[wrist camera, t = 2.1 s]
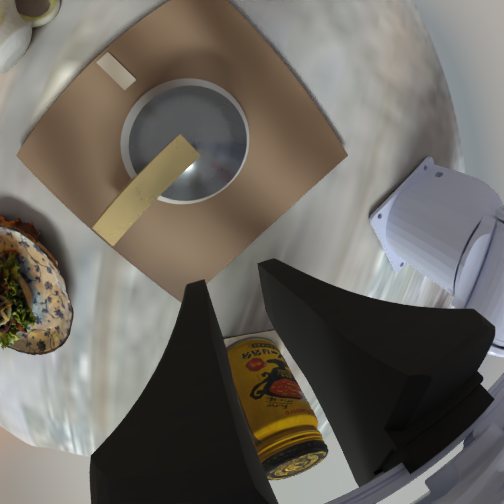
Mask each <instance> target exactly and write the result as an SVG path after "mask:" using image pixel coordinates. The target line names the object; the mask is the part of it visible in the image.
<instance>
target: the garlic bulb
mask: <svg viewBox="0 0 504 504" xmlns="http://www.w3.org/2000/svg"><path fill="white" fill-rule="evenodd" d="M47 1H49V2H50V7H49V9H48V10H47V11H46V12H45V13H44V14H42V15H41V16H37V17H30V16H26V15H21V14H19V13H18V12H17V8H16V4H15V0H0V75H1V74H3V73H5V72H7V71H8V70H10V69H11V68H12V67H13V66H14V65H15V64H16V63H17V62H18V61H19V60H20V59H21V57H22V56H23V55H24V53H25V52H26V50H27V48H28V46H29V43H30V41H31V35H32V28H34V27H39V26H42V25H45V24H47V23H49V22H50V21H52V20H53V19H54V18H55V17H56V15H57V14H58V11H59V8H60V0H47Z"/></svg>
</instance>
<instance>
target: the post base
mask: <svg viewBox="0 0 504 504" xmlns="http://www.w3.org/2000/svg"><path fill="white" fill-rule="evenodd" d="M189 85H194V86H202V87H206V88H209V89H212V90H215V91H217V92H218V93H220V94H222V95H223V96H225V97H226V98H227V99H229V100H230V101H231V102H232V103H233V104H234V106H235V107H236V108H237V110H238V111H239V113H240V115H241V116H242V119H243V121H244V124H245V128H246V134H247V147H246V153H245V157H244V160H243V162H242V165H241V167H240V169H239V170H238V172H237V174H236V175H235V176H234V178H233V179H232V180H231V181H230V182H229V183H228V184H227V185H226V186H225V187H223V188H222V189H221V190H219V191H218V192H216V193H214V194H212V195H210V196H208V197H205V198H202V199H198V200H192V201H177V200H172V199H168V198H165V197H162V196H159V197H158V198H157V199H156V200H155V201H154V202H153V203H152V204H151V205H150V206H149V207H148V208H147V209H146V211H145V212H144V213H143V214H142V215H141V216H140V217H139V218H138V219H137V220H136V221H135V222H134V223H133V225H132V226H131V227H130V228H129V229H128V230H127V231H126V232H125V233H124V235H123V236H122V237H121V238H120V239H119V240H118V241H117V243H116V244H115V245H114V246H112V245H111V244H110V243H109V242H107V241H106V240H105V239H104V238H103V237H102V236H100V235H99V234H98V233H97V232H96V231H95V230H94V229H93V226H94V225H95V223H96V221H97V220H98V218H99V217H100V215H101V214H102V212H103V211H104V210H105V208H106V207H107V206H108V205H109V204H110V203H111V201H112V200H113V199H114V198H115V197H116V196H117V194H118V193H119V192H120V191H121V190H122V189H123V188H124V187H125V186H126V184H127V183H128V182H129V181H130V180H131V179H132V178H133V177H134V176H135V175H136V173H135V171H134V169H133V166H132V163H131V160H130V155H129V136H130V132H131V128H132V125H133V123H134V121H135V119H136V117H137V115H138V114H139V112H140V111H141V109H142V108H143V107H144V106H145V105H146V104H147V103H148V102H149V101H150V100H151V99H153V98H154V97H155V96H157V95H158V94H160V93H162V92H164V91H166V90H169V89H172V88H175V87H179V86H189ZM16 156H17V157H18V158H19V159H20V160H21V161H22V162H23V163H24V165H25V166H26V167H27V168H28V169H29V170H30V171H31V172H32V173H33V174H34V175H35V176H36V177H37V178H38V179H39V180H40V181H41V182H42V183H43V184H44V185H45V186H46V187H47V188H48V189H49V190H50V191H51V192H52V193H53V194H54V195H55V196H56V197H57V198H58V199H59V200H60V201H61V202H62V203H63V204H64V205H65V206H66V207H67V208H68V209H69V210H70V211H72V212H73V213H74V214H75V215H76V216H77V217H78V218H79V219H80V220H81V221H82V222H83V223H85V224H86V225H87V226H88V227H89V228H90V229H91V230H92V231H93V232H95V233H96V234H97V235H98V236H99V237H100V238H101V239H103V240H104V241H105V242H106V243H107V244H108V245H110V246H111V247H112V248H113V249H114V250H115V251H117V252H118V253H119V254H120V255H121V256H123V257H124V258H125V259H126V260H127V261H129V262H130V263H131V264H132V265H134V266H135V267H136V268H137V269H139V270H140V271H141V272H142V273H144V274H145V275H146V276H147V277H149V278H150V279H151V280H152V281H154V282H155V283H156V284H158V285H159V286H160V287H161V288H163V289H164V290H165V291H167V292H168V293H169V294H171V295H172V296H173V297H175V298H176V299H177V300H179V301H180V302H181V303H182V300H183V296H184V291H185V287H186V285H187V284H189V283H193V282H196V281H200V280H203V279H205V282H206V284H207V283H208V282H209V281H210V280H211V279H212V278H213V277H215V276H216V275H217V274H218V273H219V272H220V271H221V270H222V269H223V268H224V267H225V266H227V265H228V264H229V263H230V262H231V261H232V260H233V259H234V258H235V257H236V256H237V255H239V254H240V253H241V252H242V251H243V250H244V249H245V248H246V247H247V246H248V245H249V244H251V243H252V242H253V241H254V240H255V239H256V238H257V237H258V236H259V235H260V234H262V233H263V232H264V231H265V230H266V229H267V228H268V227H269V226H270V225H271V224H273V223H274V222H275V221H276V220H277V219H278V218H279V217H280V216H281V215H282V214H284V213H285V212H286V211H287V210H288V209H289V208H290V207H291V206H292V205H293V204H295V203H296V202H297V201H298V200H299V199H300V198H301V197H302V196H303V195H305V194H306V193H307V192H308V191H309V190H310V189H311V188H312V187H313V186H315V185H316V184H317V183H318V182H319V181H320V180H321V179H322V178H323V177H324V176H326V175H327V174H328V173H329V172H330V171H331V170H332V169H333V168H335V167H336V166H337V165H338V164H339V163H340V162H341V161H342V160H343V159H345V158H346V157H347V156H348V154H347V153H346V151H345V149H344V148H343V146H342V145H341V143H340V141H339V140H338V138H337V137H336V135H335V133H334V132H333V130H332V129H331V127H330V126H329V124H328V123H327V121H326V120H325V118H324V117H323V115H322V114H321V112H320V111H319V109H318V108H317V106H316V105H315V104H314V102H313V101H312V99H311V98H310V97H309V95H308V94H307V92H306V91H305V90H304V88H303V87H302V86H301V84H300V83H299V82H298V80H297V79H296V78H295V76H294V75H293V74H292V72H291V71H290V70H289V69H288V67H287V66H286V65H285V64H284V62H283V61H282V60H281V59H280V57H279V56H278V55H277V54H276V53H275V51H274V50H273V49H272V48H271V47H270V45H269V44H268V43H267V42H266V41H265V40H264V39H263V37H262V36H261V35H260V34H259V33H258V32H257V31H256V30H255V29H254V27H253V26H252V25H251V24H250V23H249V22H248V21H247V20H246V19H245V18H244V17H243V16H242V15H241V14H240V13H239V12H238V11H237V10H236V9H235V8H234V7H233V6H232V5H231V4H230V3H229V2H228V1H227V0H170V1H168V2H166V3H165V4H163V5H162V6H160V7H159V8H157V9H156V10H154V11H153V12H152V13H150V14H149V15H147V16H146V17H145V18H143V19H142V20H141V21H139V22H138V23H137V24H135V25H134V26H133V27H131V28H130V29H129V30H128V31H126V32H125V33H124V34H123V35H121V36H120V37H119V38H118V39H117V40H115V41H114V42H113V43H112V44H111V45H110V46H109V47H107V48H106V49H105V50H104V51H103V52H102V53H101V54H100V55H99V56H98V57H97V58H95V59H94V60H93V61H92V62H91V63H90V64H89V65H88V66H87V67H86V68H85V69H84V70H83V71H82V72H81V73H80V74H79V75H78V76H77V78H76V79H75V80H74V81H73V82H72V83H71V84H70V85H69V86H68V87H67V88H66V90H65V91H64V92H63V93H62V94H61V95H60V96H59V98H58V99H57V100H56V101H55V102H54V104H53V105H52V106H51V107H50V109H49V110H48V111H47V112H46V114H45V115H44V116H43V117H42V119H41V120H40V121H39V123H38V124H37V125H36V127H35V128H34V130H33V131H32V132H31V134H30V135H29V137H28V138H27V140H26V141H25V143H24V144H23V146H22V147H21V149H20V150H19V152H18V153H17V155H16Z"/></svg>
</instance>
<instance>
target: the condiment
mask: <svg viewBox="0 0 504 504" xmlns="http://www.w3.org/2000/svg"><path fill="white" fill-rule="evenodd" d="M224 342H225V345H226V349H227V354H228V358H229V363H230V367H231V372H232V376H233V380H234V385H235V389H236V393H237V398H238V402H239V405H240V408H241V412H242V414H243V417H244V420H245V423H246V425H247V428H248V431H249V434H250V436H251V439H252V441H253V444H254V447H255V449H256V452H257V454H258V457H259V459H260V462H261V464H262V467H263V469H264V471H265V474H266V476H267V479H268V480H279V479H285V478H288V477H291V476H295V475H297V474H300V473H302V472H304V471H306V470H308V469H310V468H312V467H313V466H315V465H317V464H318V463H320V462H321V461H322V460H323V459H324V458H325V457H326V456H327V453H328V449H327V445H326V444H325V443H324V441H323V440H322V435H321V433H320V432H319V431H318V430H317V426H318V420H317V418H316V416H315V414H314V411H313V410H312V409H311V407H310V404H309V402H308V401H307V399H306V398H305V396H304V394H303V392H302V391H301V389H300V387H299V385H298V383H297V382H296V380H295V378H294V376H293V374H292V373H291V370H290V369H289V367H288V365H287V363H286V361H285V359H284V358H283V350H284V343H283V342H282V340H281V339H280V337H279V336H278V334H277V332H276V331H275V330H272V331H266V332H260V333H253V334H248V335H243V336H237V337H231V338H227V339H224Z"/></svg>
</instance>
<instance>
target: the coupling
mask: <svg viewBox="0 0 504 504" xmlns="http://www.w3.org/2000/svg"><path fill="white" fill-rule="evenodd" d="M246 147H247V134H246V128H245V124H244V121H243V119H242V116H241V115H240V113H239V111H238V110H237V108H236V107H235V106H234V104H233V103H232V102H231V101H230V100H229V99H227V98H226V97H225V96H223V95H222V94H220V93H218V92H217V91H215V90H212V89H209V88H206V87H202V86H194V85H189V86H179V87H175V88H172V89H169V90H166V91H164V92H162V93H160V94H158V95H157V96H155V97H154V98H153V99H151V100H150V101H149V102H148V103H147V104H146V105H145V106H144V107H143V108H142V109H141V111H140V112H139V114H138V115H137V117H136V119H135V121H134V123H133V125H132V128H131V132H130V136H129V155H130V160H131V163H132V166H133V169H134V171H135V173H136V175H135V176H134V177H133V178H132V179H131V180H130V181H129V182H128V183H127V184H126V186H125V187H124V188H123V189H122V190H121V191H120V192H119V193H118V194H117V196H116V197H115V198H114V199H113V200H112V201H111V203H110V204H109V205H108V206H107V207H106V208H105V210H104V211H103V212H102V214H101V215H100V217H99V218H98V220H97V221H96V223H95V225H94V226H93V229H94V230H95V231H96V232H97V233H98V234H99V235H100V236H102V237H103V238H104V239H105V240H106V241H107V242H109V243H110V244H111V245H112V246H114V245H115V244H116V243H117V241H118V240H119V239H120V238H121V237H122V236H123V235H124V233H125V232H126V231H127V230H128V229H129V228H130V227H131V226H132V225H133V223H134V222H135V221H136V220H137V219H138V218H139V217H140V216H141V215H142V214H143V213H144V212H145V211H146V209H147V208H148V207H149V206H150V205H151V204H152V203H153V202H154V201H155V200H156V199H157V198H158V197H159V196H162V197H165V198H168V199H172V200H177V201H192V200H198V199H202V198H205V197H208V196H210V195H212V194H214V193H216V192H218V191H219V190H221V189H222V188H223V187H225V186H226V185H227V184H228V183H229V182H230V181H231V180H232V179H233V178H234V176H235V175H236V174H237V172H238V170H239V169H240V167H241V165H242V162H243V160H244V157H245V153H246Z"/></svg>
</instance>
